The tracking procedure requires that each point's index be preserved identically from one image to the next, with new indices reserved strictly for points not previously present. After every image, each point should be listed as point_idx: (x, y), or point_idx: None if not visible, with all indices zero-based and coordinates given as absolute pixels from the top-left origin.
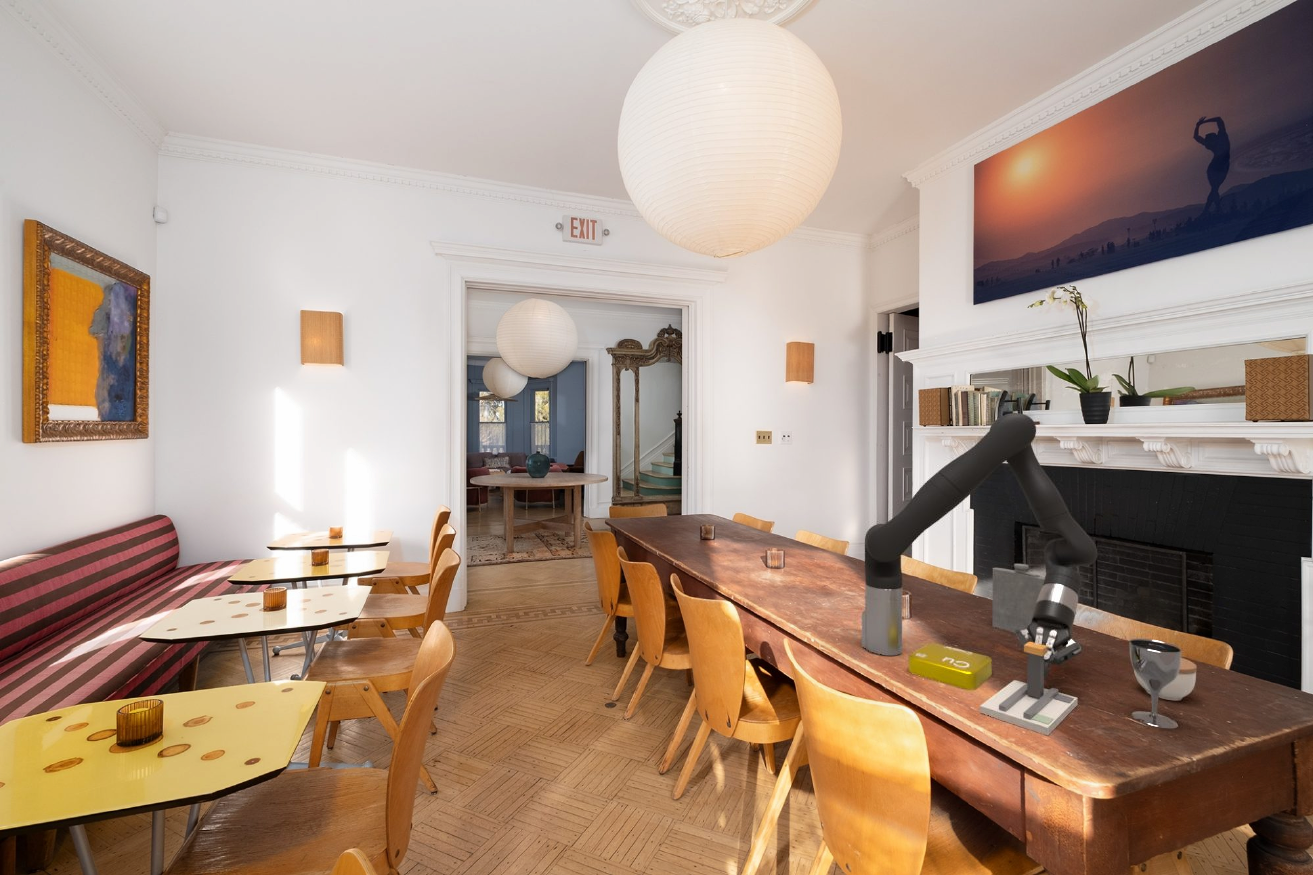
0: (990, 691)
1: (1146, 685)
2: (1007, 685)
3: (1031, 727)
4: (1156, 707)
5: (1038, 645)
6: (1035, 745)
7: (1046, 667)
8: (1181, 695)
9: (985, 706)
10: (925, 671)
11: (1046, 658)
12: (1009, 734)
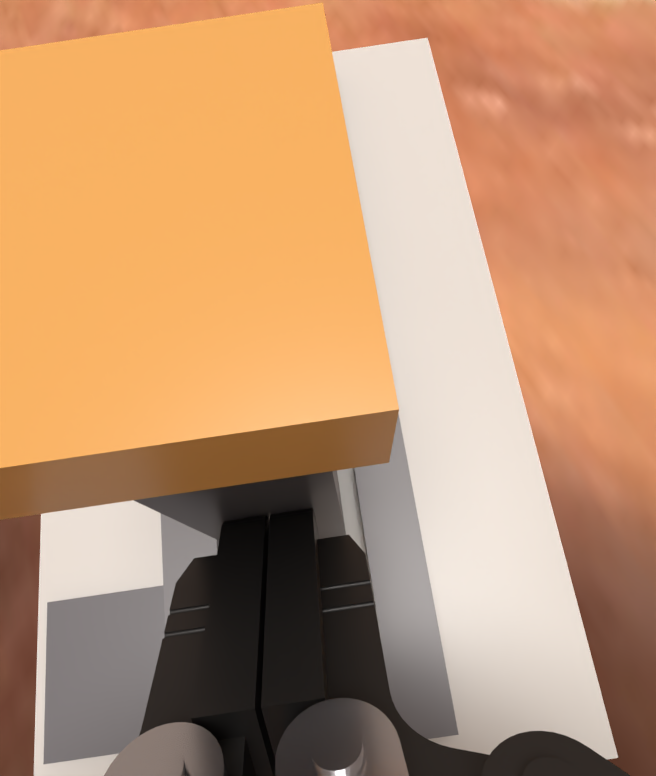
0: (611, 430)
1: None
2: (553, 527)
3: None
4: None
5: (57, 284)
6: (85, 7)
7: (171, 643)
8: None
9: (404, 55)
10: None
11: (153, 746)
12: (207, 4)
